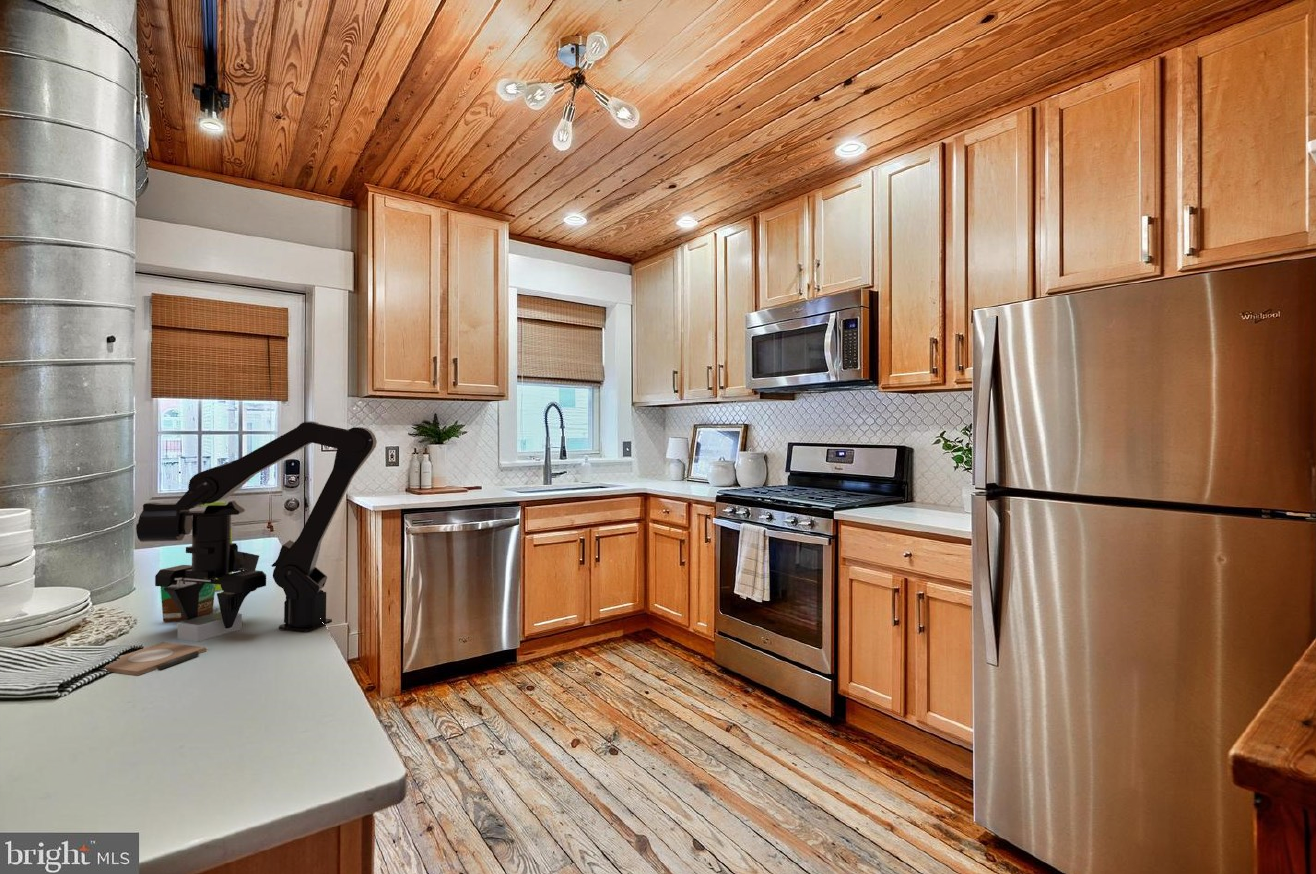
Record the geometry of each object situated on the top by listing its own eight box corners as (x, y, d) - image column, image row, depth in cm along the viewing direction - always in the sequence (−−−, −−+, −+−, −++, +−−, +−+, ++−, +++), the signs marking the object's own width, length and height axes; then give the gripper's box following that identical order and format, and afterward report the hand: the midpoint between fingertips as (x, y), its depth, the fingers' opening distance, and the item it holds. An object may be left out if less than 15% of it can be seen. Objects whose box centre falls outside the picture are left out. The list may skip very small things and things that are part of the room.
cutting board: (212, 651, 104) (212, 646, 104) (144, 676, 94) (144, 671, 94) (162, 645, 107) (162, 641, 107) (91, 669, 96) (91, 664, 96)
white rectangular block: (241, 630, 116) (241, 613, 116) (197, 643, 109) (197, 625, 109) (222, 626, 118) (222, 610, 118) (177, 640, 111) (177, 622, 111)
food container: (189, 625, 118) (189, 572, 118) (156, 624, 118) (157, 571, 118) (234, 607, 130) (235, 558, 130) (205, 606, 130) (206, 558, 130)
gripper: (290, 535, 119) (289, 617, 119) (210, 530, 123) (209, 609, 123) (239, 545, 108) (238, 636, 108) (153, 539, 112) (152, 626, 113)
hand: (210, 626), depth 114 cm, fingers open, 8 cm apart
